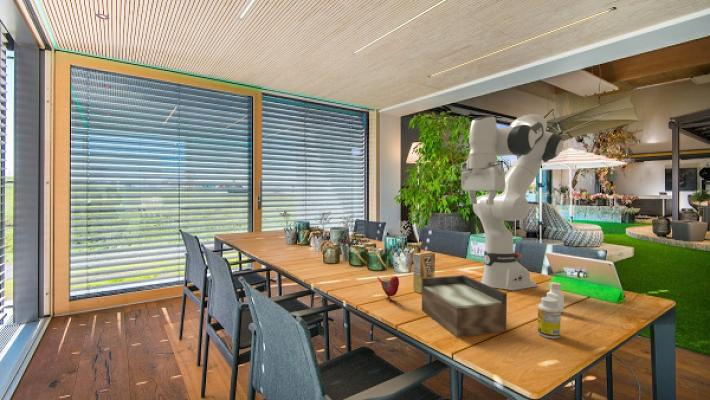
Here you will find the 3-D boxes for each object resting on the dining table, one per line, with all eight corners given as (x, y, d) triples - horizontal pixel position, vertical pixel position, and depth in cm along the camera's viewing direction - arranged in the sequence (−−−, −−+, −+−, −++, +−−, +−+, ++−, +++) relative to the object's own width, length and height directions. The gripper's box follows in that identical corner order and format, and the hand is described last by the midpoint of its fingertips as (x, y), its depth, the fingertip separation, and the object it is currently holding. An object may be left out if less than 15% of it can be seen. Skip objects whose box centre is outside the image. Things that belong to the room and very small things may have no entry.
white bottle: (557, 314, 112) (557, 285, 112) (545, 310, 116) (546, 282, 116) (564, 312, 114) (565, 284, 114) (552, 308, 118) (553, 281, 117)
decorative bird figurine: (395, 306, 120) (395, 278, 119) (373, 292, 136) (373, 267, 136) (402, 305, 121) (402, 277, 120) (380, 291, 137) (380, 267, 137)
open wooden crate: (463, 306, 120) (464, 275, 120) (506, 331, 99) (506, 293, 98) (421, 310, 116) (422, 278, 116) (456, 337, 95) (456, 297, 94)
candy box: (426, 287, 143) (427, 251, 143) (435, 289, 140) (435, 252, 140) (412, 291, 138) (413, 253, 137) (421, 293, 135) (421, 255, 134)
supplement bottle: (540, 329, 100) (540, 294, 100) (561, 334, 97) (562, 298, 96) (535, 335, 96) (536, 299, 96) (558, 341, 92) (558, 303, 92)
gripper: (510, 161, 107) (509, 205, 108) (473, 166, 127) (472, 203, 128) (493, 160, 106) (492, 205, 106) (458, 165, 126) (457, 203, 126)
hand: (481, 204), depth 117 cm, fingers open, 8 cm apart
